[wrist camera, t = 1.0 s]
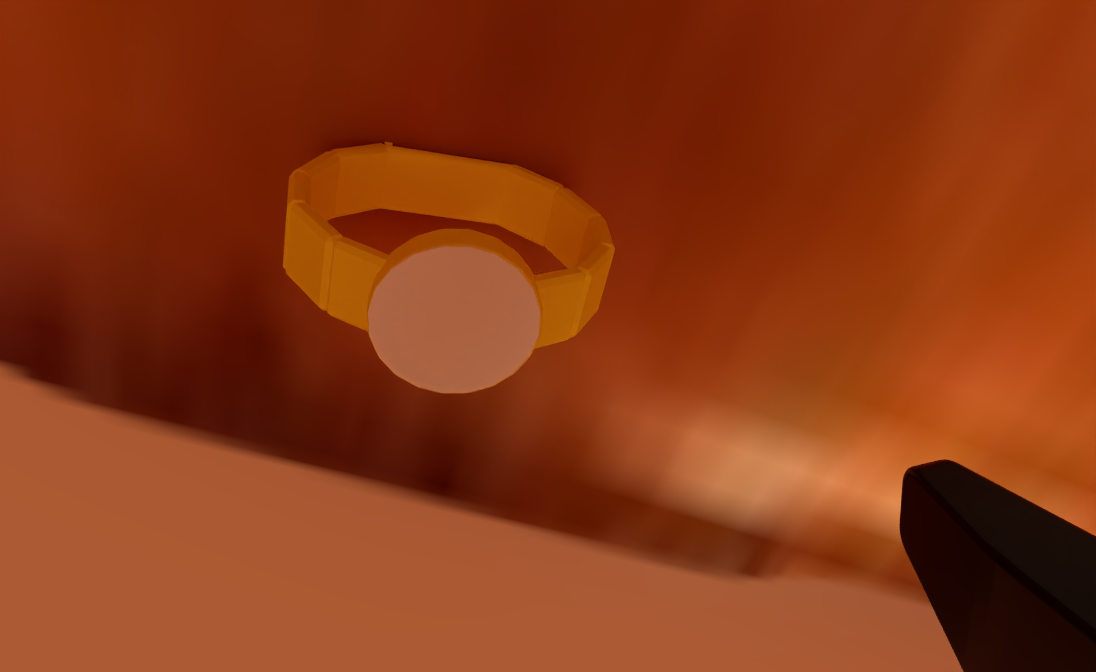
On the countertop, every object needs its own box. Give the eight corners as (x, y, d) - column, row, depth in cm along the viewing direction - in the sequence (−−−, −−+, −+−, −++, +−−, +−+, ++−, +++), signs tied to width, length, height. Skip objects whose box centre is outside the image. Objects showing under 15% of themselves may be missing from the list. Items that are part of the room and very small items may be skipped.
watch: (304, 217, 19) (242, 370, 14) (315, 91, 17) (249, 210, 12) (572, 262, 20) (606, 419, 15) (602, 147, 18) (651, 277, 13)
